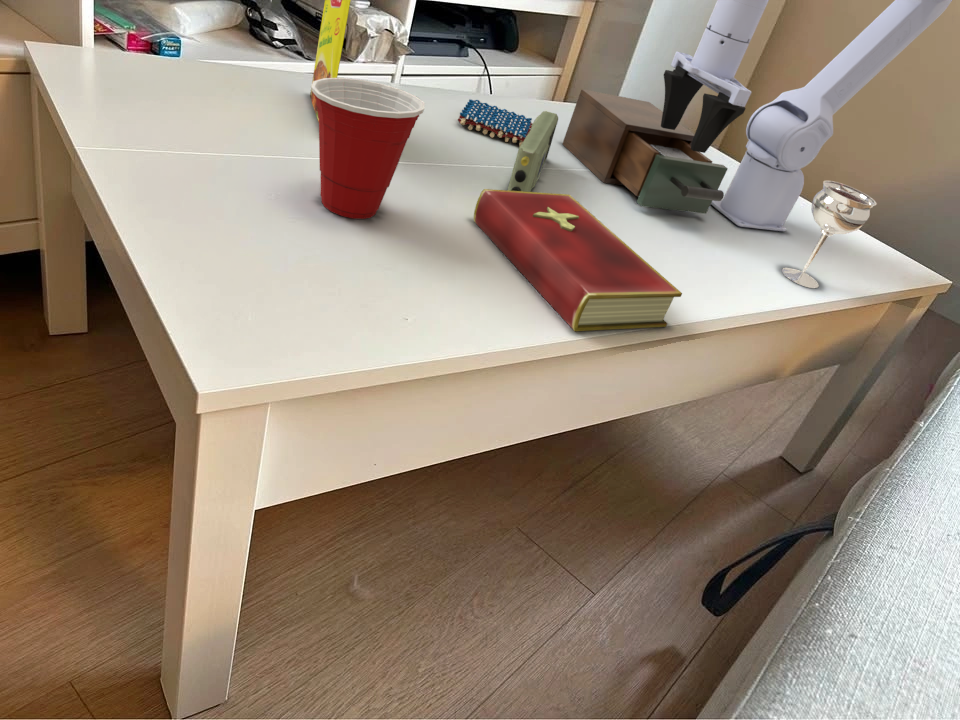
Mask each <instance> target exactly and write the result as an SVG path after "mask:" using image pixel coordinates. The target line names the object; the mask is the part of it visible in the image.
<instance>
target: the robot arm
mask: <svg viewBox="0 0 960 720" xmlns="http://www.w3.org/2000/svg"><path fill="white" fill-rule="evenodd" d="M769 1H770V0H716V2H715V5H714V6H713V9H712V11H711V14H710V16H709V19H708V21H707V24H706V27H705V28H704V31H703V33H702V36H701V38H700V40H699V43H698V45H697V48H696V50H695V53H694V54H693V55H690V54H689V53H687V52H681V51H675V54H674V56H673V58H672V61H671V63H670V67H672V68H674V69H673V70H670V69H665V71H664V73H663V81H664V82H663V83H664V102H663V107H662V108H663V109H662V112H663V114H662V120H661V127H662V128H666V129H671V130H675V129H676V127H677V126H678V124H680V122H681V121H682V119H683V117H684V114H685V113H686V110H687V109H688V106H689V105H690V103H691V102H692V100H693V98H695V96H696V94H697V93H698V92H699V91H700V89H701V88H702V87H703V86H706V87H707V88H708V89H710V90H711V91H713V92H715V93H716V94H717V95H713V94H709V93H703V95H702V107H701V113H700V117H699V121H698V125H697V128H696V129H695V132H694V134H695V135H694V138H693V140H692V144H691V149H692V150H693V151H696V152H700V153H702V154H705V153H706V152H707V151H708V150H709V148H711V146H712V144H713V143H714V142H715V141H716V140H717V138H718V137H719V136H720V134H721V133H722V132H724V130H725V129H726V128H727V127H728V126H729V125H730V124H732V123H733V122H734V121H735V120H736V119H737V118H739V117H740V116H742V115H743V114H744V113H745V112H746V105H747V103H748V101H749V99H750V98H751V95H752V91H751V90H750V89H748V88H747V87H745V86H744V84H742V83H741V82H740V81H739V80H738V79H737V78H736V77H735V76H736V74H737V72H738V70H739V67H740V65H741V63H742V60H743V59H744V56H745V54H746V52H747V50H748V48H749V45H750V43H751V41H752V39H753V36H754V34H755V32H756V30H757V29H758V25H759V23H760V22H761V19H762V16H763V14H764V12H765V11H766V8H767V5H768V3H769ZM952 1H953V0H894V1H892V2H891V3H890V4H889V5H888V6H887V7H886V8H885V9H884V10H883V11H882V12H881V13H880V14H879V15H878V16H877V17H876V18H875V19H874V20H873V21H872V22H871V23H869V24H868V26H866V27H865V28H864V29H863V30H862V31H861V32H860V33H858V35H857V36H856V37H855V38H854V39H853V40H851V42H849V44H847V46H845V48H843V49H842V50H840V52H839V53H838V54H837V55H836V56H835V57H834V58H833V59H832V60H830V61H829V63H828V64H826V65H825V66H824V67H823V68H822V69H821V70H820V71H819V72H818V73H817V74H816V75H815V76H814V77H813V78H812V79H811V80H810V81H808V83H807V84H806V85H805V86H803V87H800V88H796V89H791V90H787V91H783V92H782V93H780V94H779V95H778V96H777V97H776V98H775V99H774V100H772V101H770V102H768V103H765V104H763V105H761V106H759V107H758V108H757V109H755V111H754V112H753V113H752V114H751V115H750V117H749V120H748V121H747V124H746V128H745V135H746V139H747V143H746V145H745V148H746V150H745V153H744V155H743V157H742V159H741V161H740V163H739V165H738V167H737V170H735V173H734V176H733V178H732V180H731V182H730V184H729V186H728V188H727V190H726V192H725V194H724V197H723V199H722V200H721V201H712V203H711V205H710V206H712V207H714V208H715V209H716V210H717V211H718V212H720V213H721V214H722V215H724V216H725V217H726V218H727V219H728V220H730V221H731V222H732V223H734V224H735V225H736V226H738V227H741V228H748V229H749V228H751V229H759V230H767V231H777V232H778V231H779V232H786V230H787V228H786V226H784V225H785V223H786V221H787V219H788V217H789V216H790V214H791V212H792V210H793V209H794V207H795V205H796V203H797V201H798V199H799V198H800V195H801V194H802V191H803V189H804V184H805V175H804V173H803V171H802V169H804V168H805V167H807V166H808V165H810V163H812V162H813V161H814V160H815V159H816V158H817V156H818V154H819V152H820V151H821V149H822V147H823V146H824V145H825V144H826V143H827V141H828V140H829V139H831V138H832V137H833V135H834V115H835V114H836V113H837V112H838V111H839V110H840V109H841V108H842V107H843V106H844V105H846V104H847V103H848V102H849V101H850V100H851V99H852V98H853V97H854V96H855V95H857V94H858V93H859V92H860V90H862V89H863V88H864V87H865V86H866V85H867V84H869V82H870V81H872V80H873V78H875V77H876V76H877V75H878V74H879V73H880V72H881V71H882V70H883V69H885V68H886V66H888V65H889V64H890V63H891V62H892V61H893V60H894V59H896V57H898V56H899V55H900V53H902V52H903V51H904V50H905V49H906V48H907V47H908V46H909V45H910V44H912V42H913V41H915V40H916V39H917V38H918V37H919V36H920V35H921V34H922V33H923V32H924V31H925V30H927V29H928V28H929V26H931V25H932V24H933V23H934V22H936V20H937V19H938V18H939V17H941V15H942V14H943V13H944V12H945V11H946V10H947V9H948V7H949V5H950V4H951V3H952Z"/></svg>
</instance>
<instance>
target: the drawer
mask: <svg viewBox="0 0 960 720" xmlns="http://www.w3.org/2000/svg"><path fill="white" fill-rule="evenodd" d="M650 145H657V146H663V147H669V148H676V149H679V150H681V151H682V152H683V153H685V154H686V155H687V156H689V157H690V158H691V159H693V160H689V159H682V158H676V157H669V156H663V155H659V152H658V151H656V150H655V149H654V148H652V147H651V146H650ZM727 171H728V167H727V166H725V165H724V164H720V163H714V162H713V160H712V159H710V158H709V157H707V156H706V155H704V153H702V152H696V151H693V150H692V149H691V145H690V144H688V143H687V142H686V141H684V140H682V139H676V138H670V137H664V136H658V135H652V134H647V133H641V132H635V131H629V130H628V134H627V136H626V139H625V142H624V144H623V147H622V149H621V152H620V154H619V157H618V159H617V162H616V164H615V167H614V169H613V172H612V174H613V175H614V176H615V177H616V178H617V179H618V180H619V181H620V182H621V183H623V184H624V185H625V186H624V185H623V186H624V187H625V188H627V190H629V192H631V193H632V194H633V195H635V196H636V197H637V199H636V203H637V204H638V205H639V207H646V208H653V209H662V210H670V211H679V212H680V211H681V212H687V213H688V212H689V213H697V214H705V215H706V214H707V213H708V211H709V209H710V207H711V206H712V205H711V203H712V201H721V200H723V198H724V196H725V194H724V191H723V190H721V189H719V188H720V186H721V184H722V182H723V180H724V177H725V175H726V174H727Z"/></svg>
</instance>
